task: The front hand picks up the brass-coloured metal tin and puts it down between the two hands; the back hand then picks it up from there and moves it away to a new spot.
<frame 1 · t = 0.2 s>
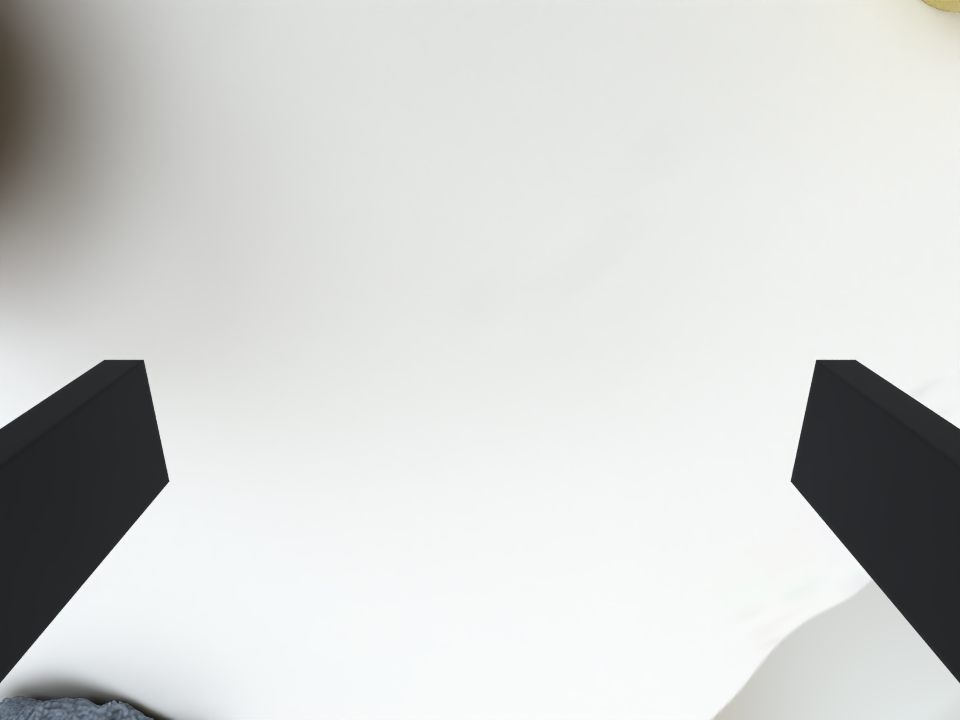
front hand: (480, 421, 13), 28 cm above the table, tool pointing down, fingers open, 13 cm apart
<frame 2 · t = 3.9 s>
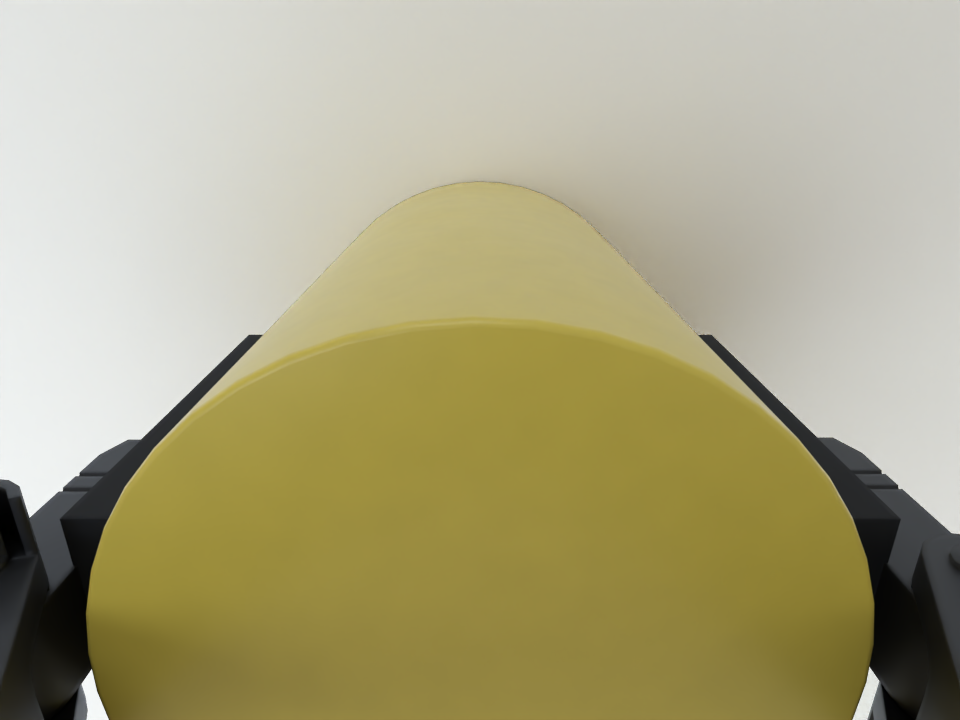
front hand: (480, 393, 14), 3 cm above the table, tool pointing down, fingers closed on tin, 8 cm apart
tin: (480, 341, 17), on the table, touching front hand
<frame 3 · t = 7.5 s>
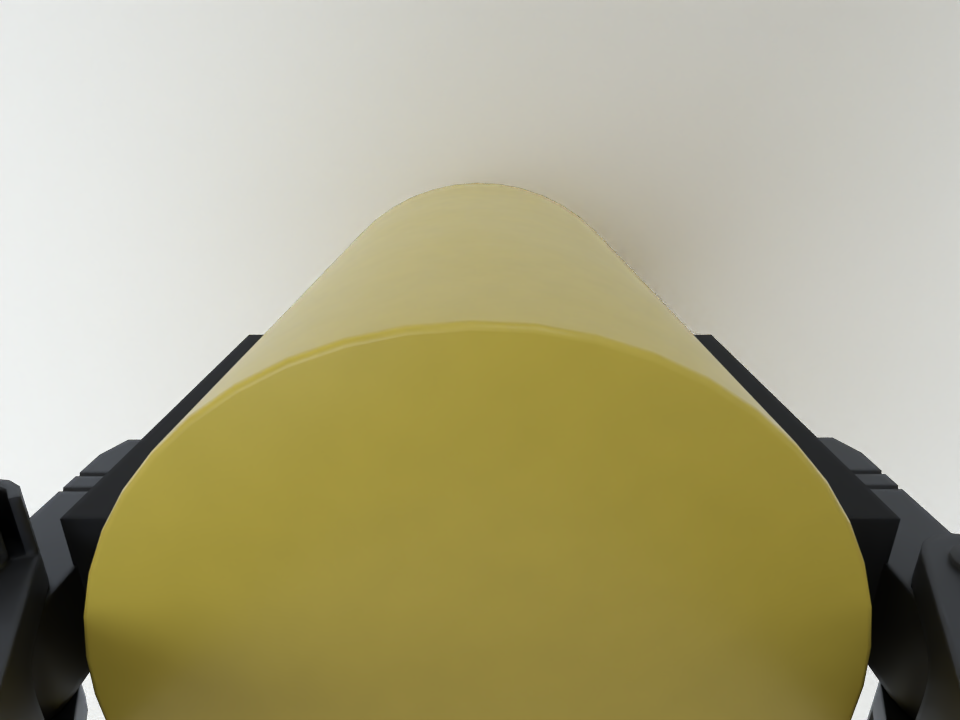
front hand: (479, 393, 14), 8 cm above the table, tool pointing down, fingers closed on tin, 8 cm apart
tin: (479, 342, 17), point 5 cm above the table, touching front hand
when the front hand's fingers open (4 cm above the table, at t = 11.2 s): tin drops 1 cm, on the table.
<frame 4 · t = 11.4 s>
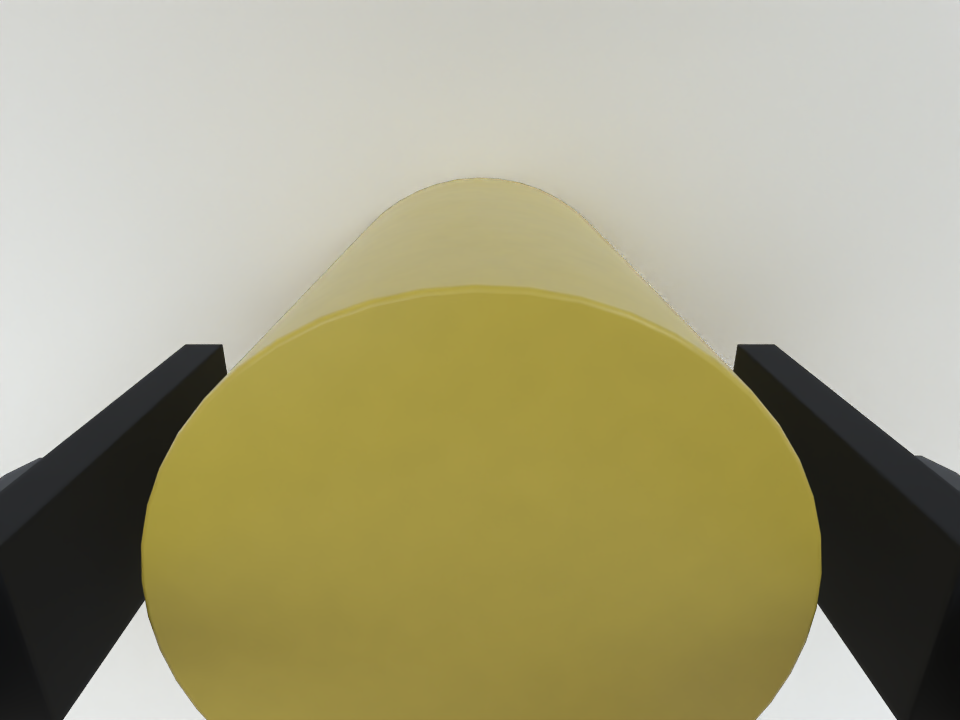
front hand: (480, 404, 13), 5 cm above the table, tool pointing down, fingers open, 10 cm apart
tin: (480, 328, 18), on the table
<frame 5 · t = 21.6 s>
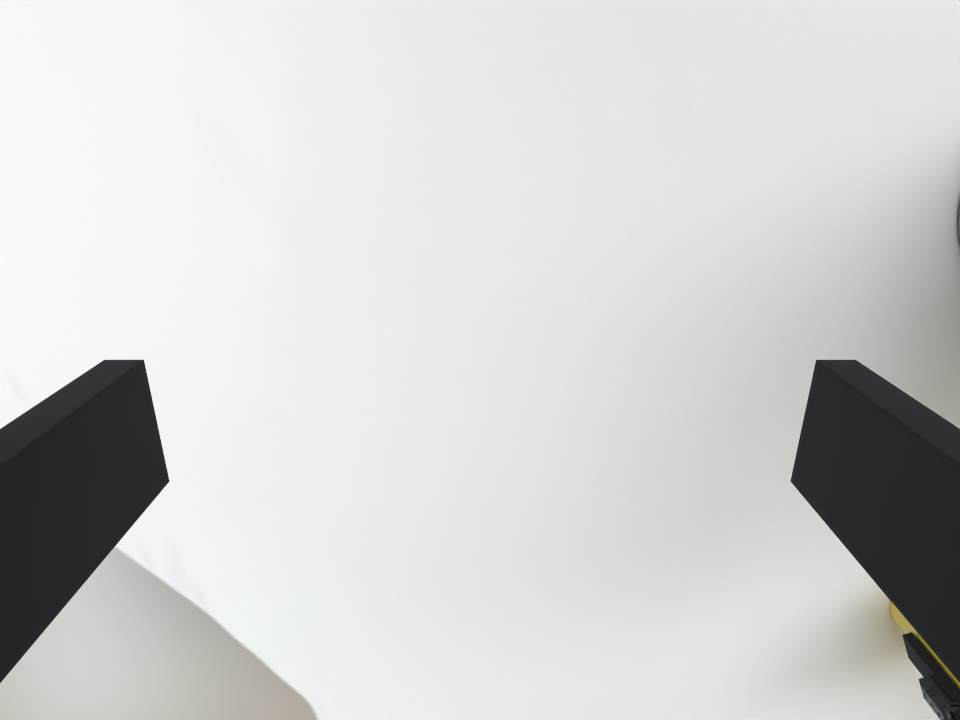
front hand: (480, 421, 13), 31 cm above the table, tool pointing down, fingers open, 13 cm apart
tin: (939, 597, 54), on the table, touching back hand
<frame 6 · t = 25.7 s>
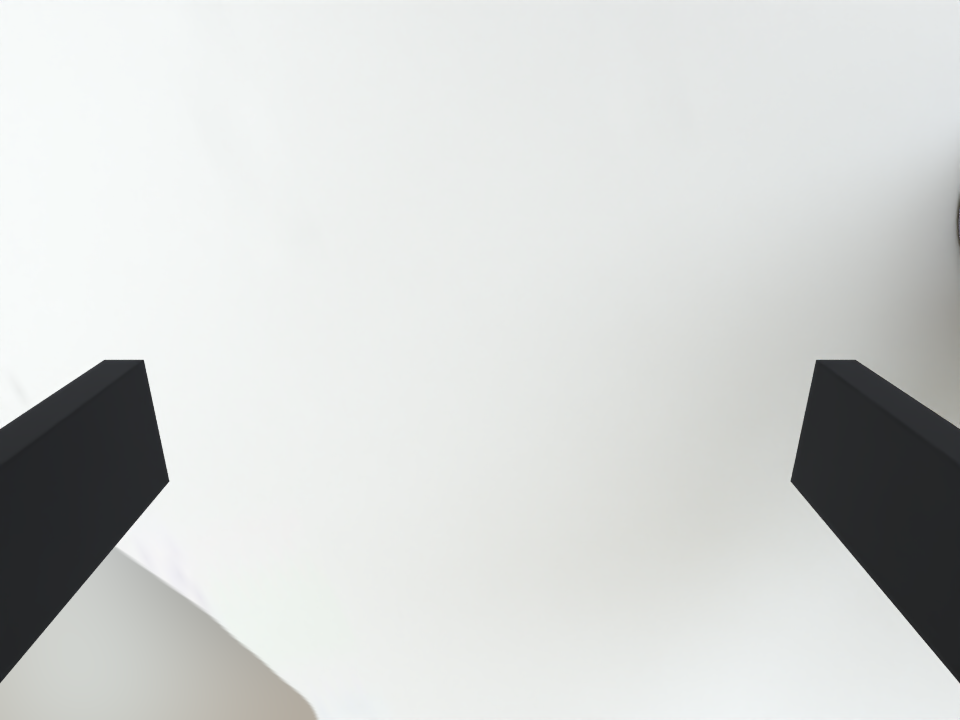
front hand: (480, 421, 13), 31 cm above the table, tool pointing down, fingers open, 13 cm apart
when the back hand's fingers open (4 cm above the table, at t = 29.9 s): tin drops 1 cm, on the table.
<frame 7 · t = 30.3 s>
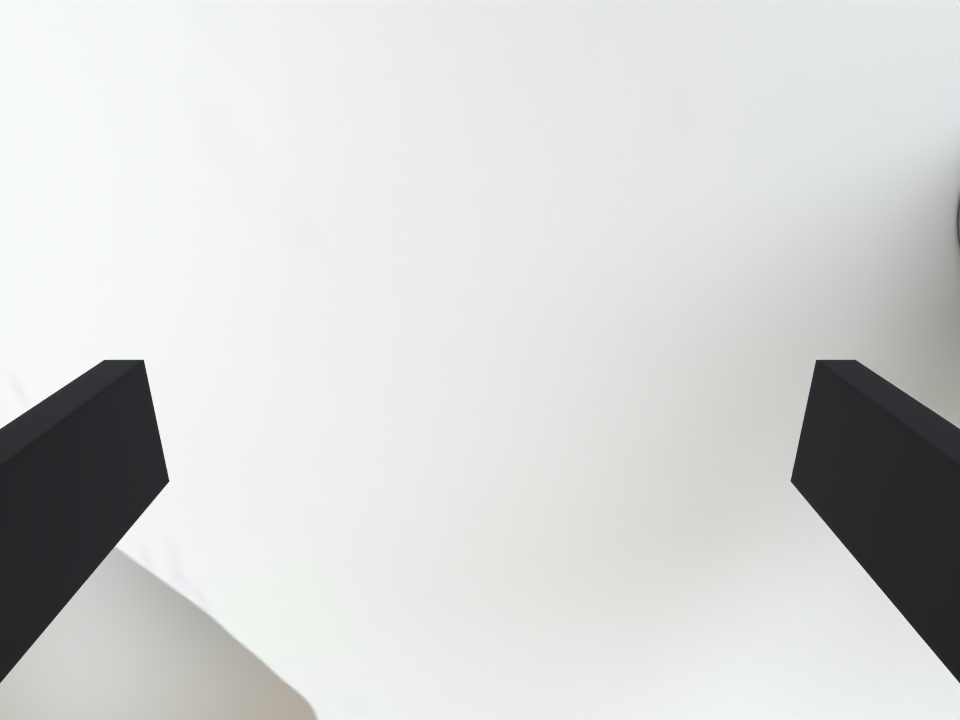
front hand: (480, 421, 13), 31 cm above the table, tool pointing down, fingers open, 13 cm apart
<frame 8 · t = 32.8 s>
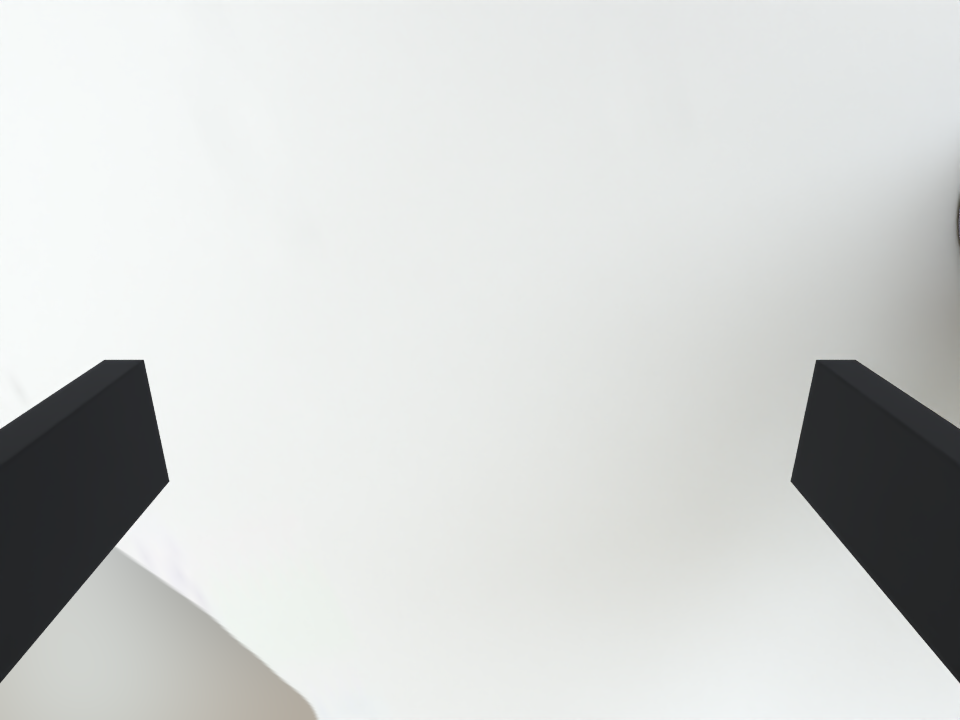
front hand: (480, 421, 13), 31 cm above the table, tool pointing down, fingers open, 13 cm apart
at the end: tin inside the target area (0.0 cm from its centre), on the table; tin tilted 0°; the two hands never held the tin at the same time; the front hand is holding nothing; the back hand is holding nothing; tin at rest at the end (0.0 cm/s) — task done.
